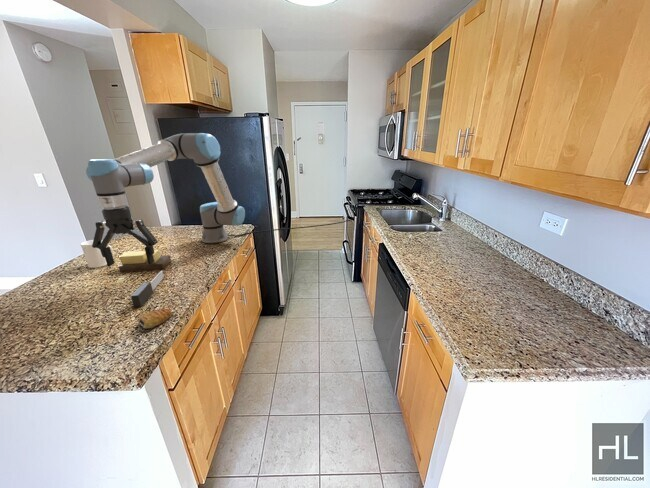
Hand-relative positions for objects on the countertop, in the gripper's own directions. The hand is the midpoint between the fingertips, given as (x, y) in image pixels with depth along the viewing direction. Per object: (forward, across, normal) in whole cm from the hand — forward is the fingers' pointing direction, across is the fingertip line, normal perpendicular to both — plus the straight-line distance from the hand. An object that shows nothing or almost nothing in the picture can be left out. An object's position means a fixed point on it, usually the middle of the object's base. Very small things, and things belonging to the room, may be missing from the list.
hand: (131, 263), depth 96 cm
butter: (+12, -17, +32) cm, 38 cm away
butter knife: (+15, +1, +6) cm, 17 cm away
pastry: (+16, +11, -15) cm, 24 cm away
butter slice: (+12, -8, +32) cm, 35 cm away
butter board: (+15, -13, +32) cm, 37 cm away
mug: (+15, -36, +37) cm, 54 cm away
